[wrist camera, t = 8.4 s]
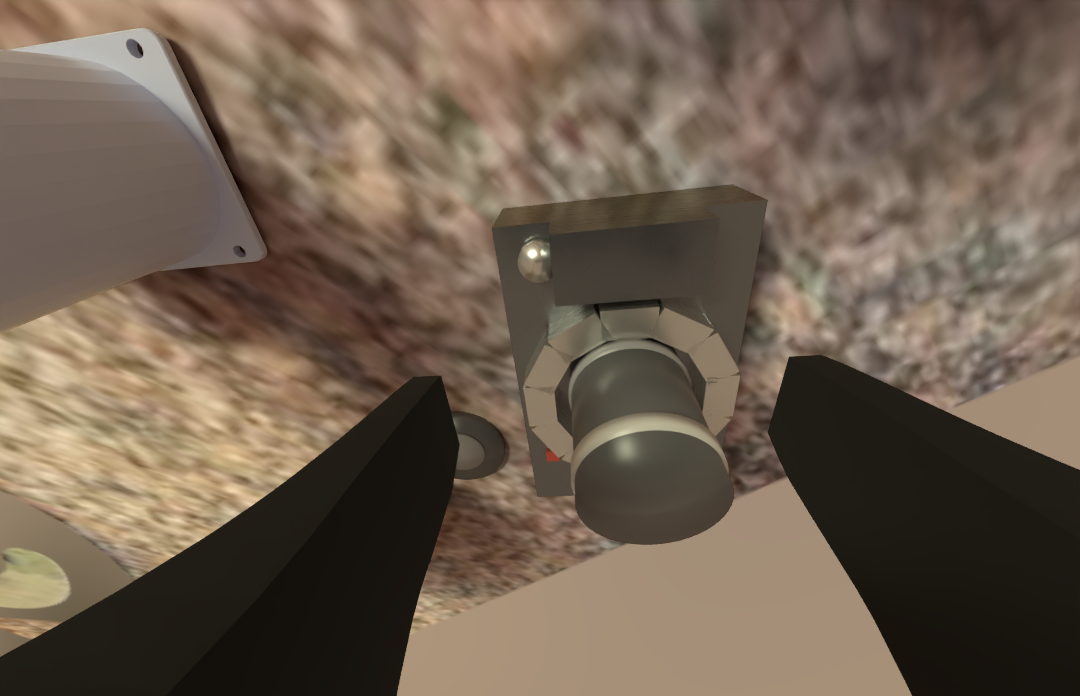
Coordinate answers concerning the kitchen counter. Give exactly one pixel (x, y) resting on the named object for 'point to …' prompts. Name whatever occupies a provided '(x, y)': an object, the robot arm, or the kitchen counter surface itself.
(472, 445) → the lens cap
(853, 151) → the kitchen counter surface
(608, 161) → the kitchen counter surface
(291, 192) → the kitchen counter surface
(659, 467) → the lens
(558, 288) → the camera body
